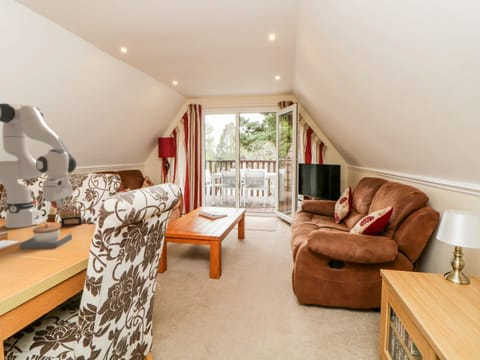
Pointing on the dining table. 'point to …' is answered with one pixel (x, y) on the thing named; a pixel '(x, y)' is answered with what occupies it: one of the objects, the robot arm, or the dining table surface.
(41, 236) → the lidded jar
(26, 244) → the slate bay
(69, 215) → the ammunition clip
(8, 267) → the dining table surface
